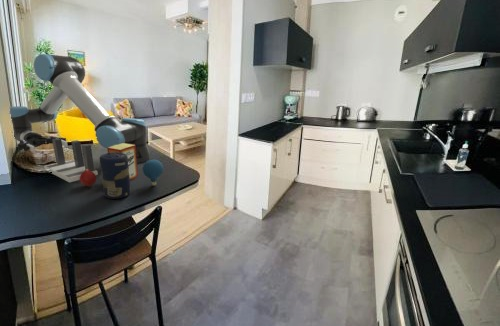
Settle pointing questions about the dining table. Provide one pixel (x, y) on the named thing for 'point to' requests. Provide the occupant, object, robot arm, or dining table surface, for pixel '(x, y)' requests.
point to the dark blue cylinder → (115, 175)
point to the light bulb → (153, 170)
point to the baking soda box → (131, 154)
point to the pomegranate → (88, 178)
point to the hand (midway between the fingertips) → (50, 146)
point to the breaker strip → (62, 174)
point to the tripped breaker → (58, 151)
